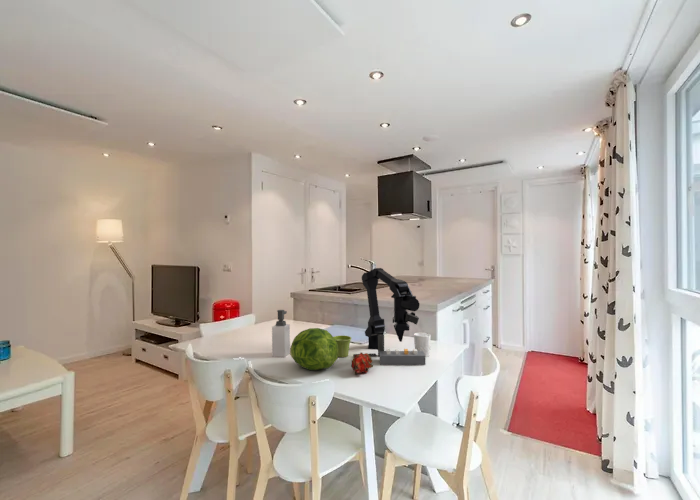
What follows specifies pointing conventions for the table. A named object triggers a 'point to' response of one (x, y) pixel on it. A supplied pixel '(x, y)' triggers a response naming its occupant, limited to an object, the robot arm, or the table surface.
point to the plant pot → (343, 345)
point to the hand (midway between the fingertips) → (400, 341)
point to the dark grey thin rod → (368, 354)
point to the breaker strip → (402, 357)
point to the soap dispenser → (281, 336)
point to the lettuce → (314, 349)
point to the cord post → (380, 343)
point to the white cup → (422, 343)
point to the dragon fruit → (361, 363)
